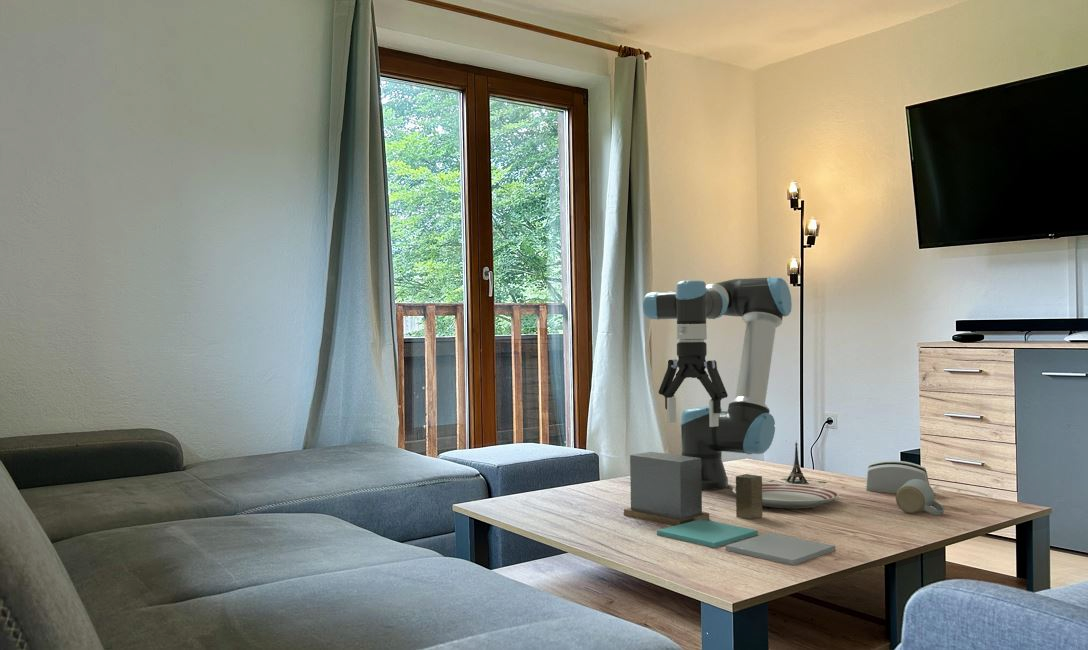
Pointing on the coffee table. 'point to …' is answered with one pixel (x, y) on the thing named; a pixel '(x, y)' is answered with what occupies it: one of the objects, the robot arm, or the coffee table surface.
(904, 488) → the ceramic mug
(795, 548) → the grey pad
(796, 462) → the eiffel tower figurine
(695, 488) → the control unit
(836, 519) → the coffee table surface
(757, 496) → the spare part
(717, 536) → the teal pad
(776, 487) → the dinner plate
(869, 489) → the napkin holder
